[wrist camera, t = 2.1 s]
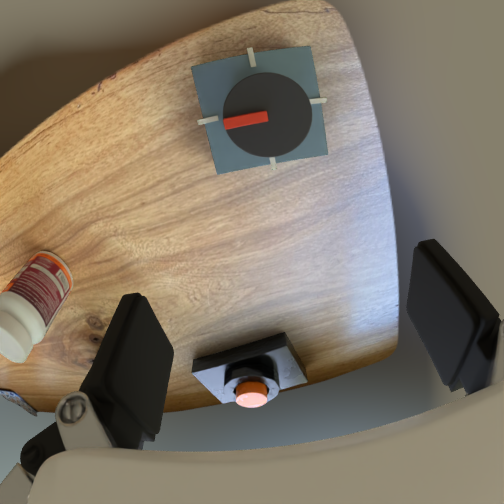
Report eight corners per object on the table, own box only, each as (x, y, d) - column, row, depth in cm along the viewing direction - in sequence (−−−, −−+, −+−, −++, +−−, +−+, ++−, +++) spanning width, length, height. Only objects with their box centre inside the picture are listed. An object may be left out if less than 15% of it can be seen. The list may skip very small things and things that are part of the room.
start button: (259, 377, 32) (260, 389, 30) (271, 391, 34) (272, 403, 32) (230, 384, 33) (230, 396, 31) (244, 398, 34) (244, 410, 33)
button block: (284, 331, 33) (288, 358, 30) (305, 368, 37) (310, 393, 34) (193, 359, 35) (189, 385, 32) (223, 390, 39) (222, 414, 36)
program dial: (290, 71, 17) (305, 66, 13) (301, 135, 19) (320, 151, 15) (221, 83, 17) (213, 82, 13) (235, 147, 20) (232, 167, 15)
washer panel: (306, 45, 18) (315, 39, 16) (324, 150, 23) (334, 160, 20) (191, 66, 19) (183, 62, 16) (216, 170, 24) (212, 182, 21)
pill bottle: (35, 240, 26) (-24, 306, 17) (79, 265, 28) (29, 342, 18) (30, 278, 29) (-17, 344, 19) (70, 302, 31) (30, 375, 21)
